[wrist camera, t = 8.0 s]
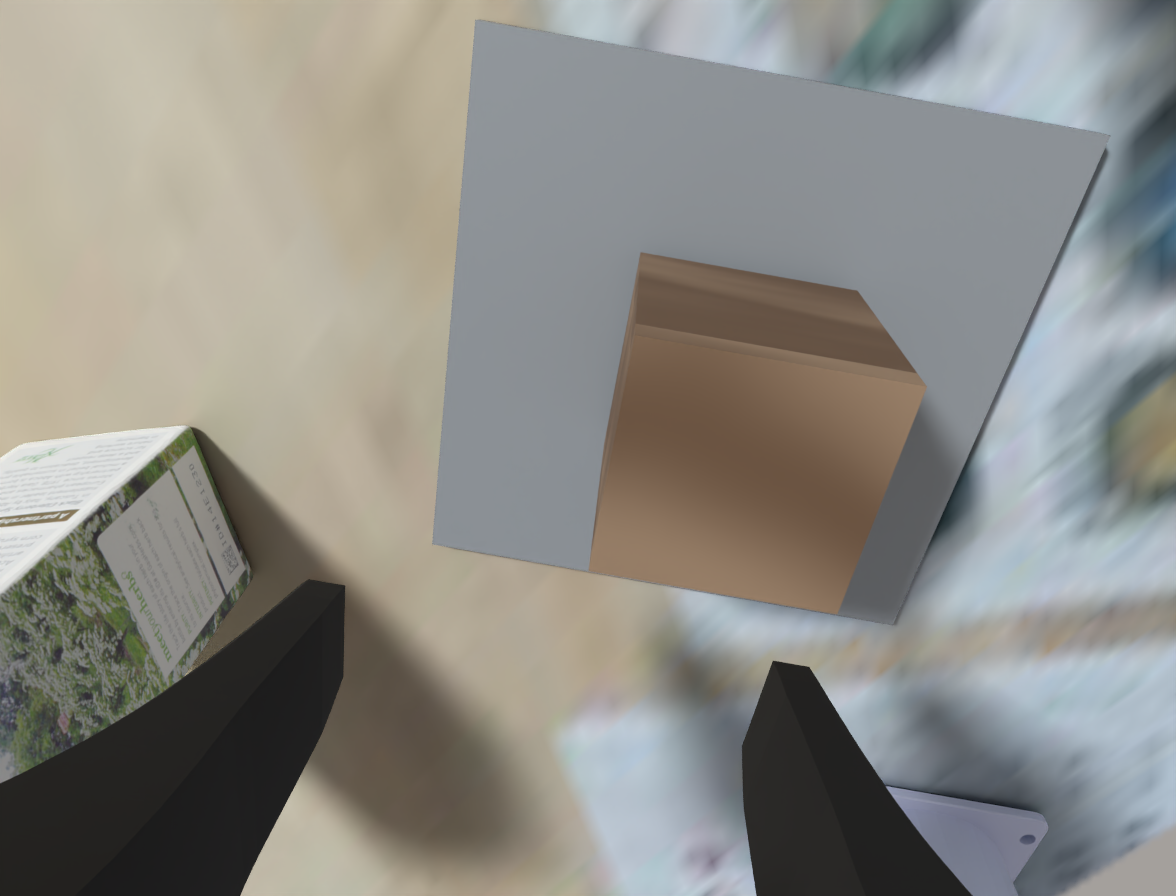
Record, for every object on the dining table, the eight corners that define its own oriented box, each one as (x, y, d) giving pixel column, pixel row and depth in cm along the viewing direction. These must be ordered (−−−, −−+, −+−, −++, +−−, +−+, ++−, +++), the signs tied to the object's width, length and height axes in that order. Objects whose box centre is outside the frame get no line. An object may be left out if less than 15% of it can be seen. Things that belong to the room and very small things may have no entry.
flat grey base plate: (888, 614, 25) (951, 777, 19) (436, 534, 25) (376, 676, 19) (1099, 132, 18) (1282, 182, 13) (479, 19, 18) (405, 22, 13)
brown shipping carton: (796, 477, 22) (837, 614, 17) (604, 443, 22) (588, 571, 17) (857, 290, 19) (927, 386, 14) (640, 252, 19) (634, 335, 14)
